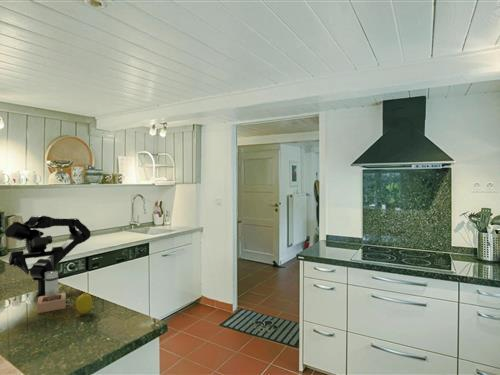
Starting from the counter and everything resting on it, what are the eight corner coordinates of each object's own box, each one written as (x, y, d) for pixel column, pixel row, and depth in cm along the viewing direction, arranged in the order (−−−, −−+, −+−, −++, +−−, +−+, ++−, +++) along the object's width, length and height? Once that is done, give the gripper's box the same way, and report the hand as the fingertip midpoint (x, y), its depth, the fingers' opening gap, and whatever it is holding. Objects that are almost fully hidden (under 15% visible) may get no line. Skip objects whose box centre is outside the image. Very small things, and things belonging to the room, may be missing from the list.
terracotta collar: (38, 305, 125) (38, 296, 125) (65, 300, 130) (65, 292, 130) (37, 313, 117) (37, 304, 117) (65, 308, 122) (65, 299, 122)
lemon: (72, 315, 115) (72, 294, 115) (86, 310, 120) (86, 289, 120) (82, 318, 112) (81, 296, 112) (95, 312, 117) (95, 292, 117)
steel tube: (45, 306, 125) (44, 271, 125) (59, 303, 127) (58, 269, 127) (45, 309, 121) (44, 274, 121) (59, 307, 123) (58, 272, 123)
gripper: (11, 231, 122) (17, 263, 115) (63, 228, 136) (72, 256, 129) (5, 249, 127) (11, 280, 120) (56, 243, 141) (64, 271, 134)
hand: (41, 271), depth 125 cm, fingers open, 9 cm apart
